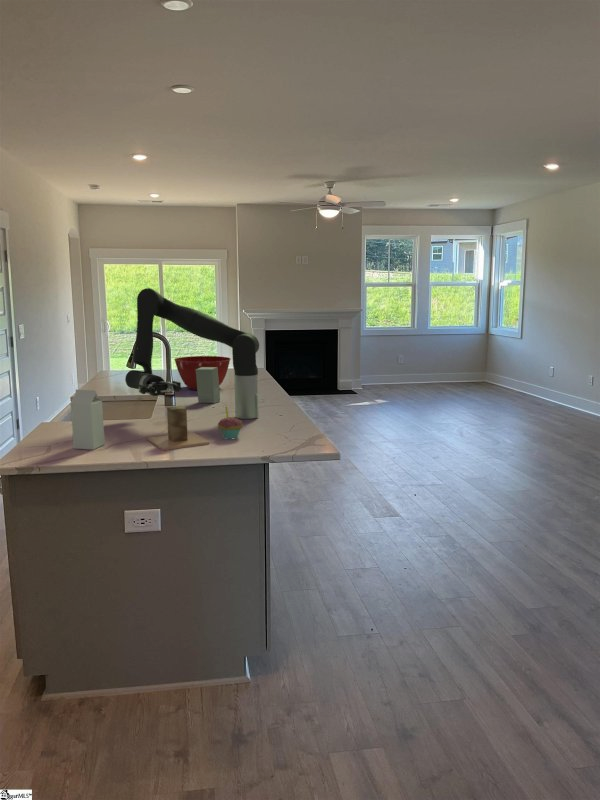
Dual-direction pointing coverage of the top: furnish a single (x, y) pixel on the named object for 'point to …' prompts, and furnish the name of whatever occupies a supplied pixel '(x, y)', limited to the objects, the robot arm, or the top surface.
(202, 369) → the skincare box
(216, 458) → the top surface
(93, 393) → the milk carton
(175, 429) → the walnut block
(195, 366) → the mixing bowl
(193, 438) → the wooden square board
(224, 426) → the cupcake
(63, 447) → the top surface
